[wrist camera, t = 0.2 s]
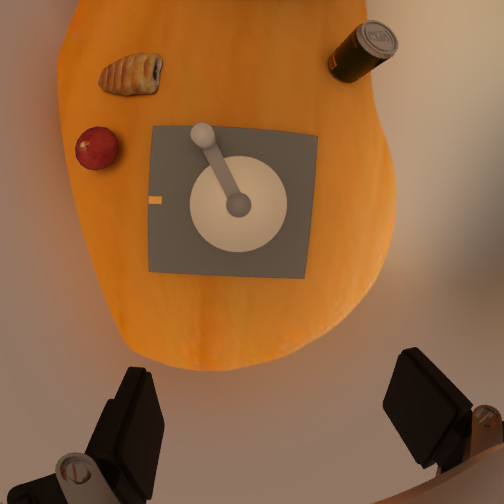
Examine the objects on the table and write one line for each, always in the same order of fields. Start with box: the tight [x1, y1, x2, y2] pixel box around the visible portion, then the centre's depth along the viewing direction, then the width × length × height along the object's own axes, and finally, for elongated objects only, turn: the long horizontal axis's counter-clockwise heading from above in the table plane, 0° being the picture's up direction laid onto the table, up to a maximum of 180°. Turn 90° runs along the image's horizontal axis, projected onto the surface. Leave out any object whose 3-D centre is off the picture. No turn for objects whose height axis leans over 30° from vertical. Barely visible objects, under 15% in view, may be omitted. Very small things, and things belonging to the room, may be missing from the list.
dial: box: [190, 122, 287, 252], centre depth 32 cm, size 16×12×7 cm
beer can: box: [328, 20, 398, 82], centre depth 28 cm, size 5×5×12 cm
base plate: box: [148, 126, 318, 279], centre depth 37 cm, size 20×22×1 cm
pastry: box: [98, 53, 162, 96], centre depth 30 cm, size 9×7×4 cm
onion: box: [75, 127, 118, 170], centre depth 30 cm, size 6×6×8 cm
